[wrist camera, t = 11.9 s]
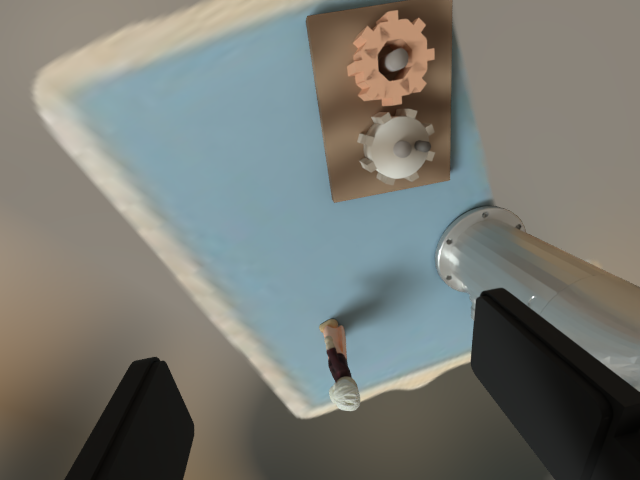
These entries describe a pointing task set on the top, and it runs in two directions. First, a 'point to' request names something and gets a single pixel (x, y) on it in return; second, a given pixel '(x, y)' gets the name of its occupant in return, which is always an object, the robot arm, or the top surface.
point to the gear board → (370, 116)
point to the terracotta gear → (395, 37)
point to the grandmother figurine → (339, 367)
